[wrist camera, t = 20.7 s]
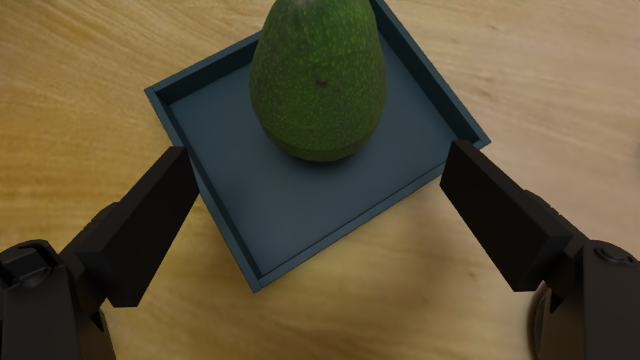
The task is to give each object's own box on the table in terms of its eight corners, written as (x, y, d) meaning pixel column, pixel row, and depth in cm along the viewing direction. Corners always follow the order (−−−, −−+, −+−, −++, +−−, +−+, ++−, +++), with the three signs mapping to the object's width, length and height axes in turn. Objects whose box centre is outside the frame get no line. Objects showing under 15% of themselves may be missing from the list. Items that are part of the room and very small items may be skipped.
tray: (262, 285, 20) (253, 293, 17) (165, 108, 23) (143, 89, 20) (468, 154, 22) (492, 141, 20) (360, 7, 25) (366, -24, 22)
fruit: (346, 69, 23) (383, -112, 11) (382, 157, 21) (469, 59, 9) (254, 97, 22) (185, -63, 10) (284, 190, 20) (246, 129, 9)
